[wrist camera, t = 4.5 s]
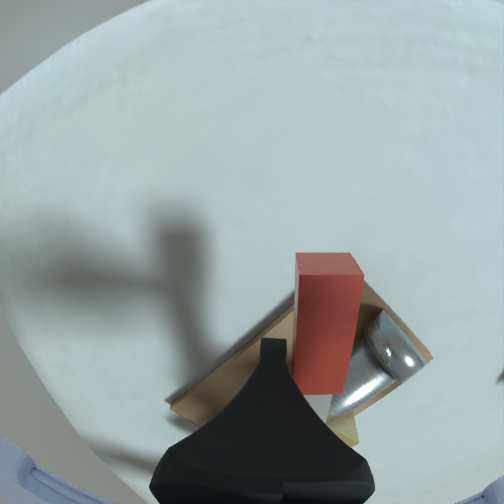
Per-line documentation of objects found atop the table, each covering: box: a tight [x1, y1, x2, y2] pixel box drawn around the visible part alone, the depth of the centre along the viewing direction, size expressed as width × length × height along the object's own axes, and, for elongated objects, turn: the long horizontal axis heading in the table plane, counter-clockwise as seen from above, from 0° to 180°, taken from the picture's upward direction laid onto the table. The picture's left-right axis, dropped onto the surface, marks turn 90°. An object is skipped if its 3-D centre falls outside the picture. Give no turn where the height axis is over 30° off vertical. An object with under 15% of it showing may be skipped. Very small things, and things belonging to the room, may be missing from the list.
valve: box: [288, 309, 426, 448], centre depth 16 cm, size 18×5×6 cm, turn 138°
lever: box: [291, 253, 364, 424], centre depth 11 cm, size 3×14×2 cm, turn 2°
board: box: [170, 280, 433, 428], centre depth 19 cm, size 18×11×1 cm, turn 138°
